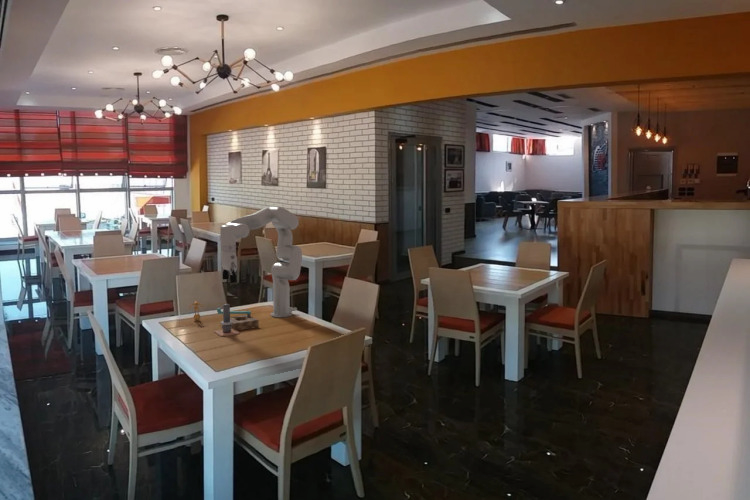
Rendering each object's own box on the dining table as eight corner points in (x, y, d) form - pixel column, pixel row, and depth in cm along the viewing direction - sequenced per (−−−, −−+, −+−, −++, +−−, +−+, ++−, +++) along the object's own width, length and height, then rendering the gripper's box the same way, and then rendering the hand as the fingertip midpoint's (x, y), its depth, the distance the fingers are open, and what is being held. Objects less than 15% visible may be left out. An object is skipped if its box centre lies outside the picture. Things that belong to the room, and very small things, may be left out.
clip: (251, 313, 321) (251, 308, 320) (250, 314, 318) (250, 309, 318) (217, 312, 320) (217, 308, 320) (216, 313, 317) (216, 309, 317)
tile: (232, 329, 307) (231, 328, 307) (239, 333, 299) (239, 332, 299) (213, 332, 301) (213, 331, 301) (221, 336, 293) (221, 335, 293)
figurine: (205, 319, 327) (204, 298, 326) (204, 322, 322) (203, 301, 320) (189, 320, 326) (189, 299, 324) (188, 322, 320) (188, 301, 318)
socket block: (247, 321, 324) (247, 312, 323) (258, 327, 313) (258, 317, 312) (223, 325, 316) (223, 315, 315) (234, 330, 304) (234, 320, 304)
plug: (230, 329, 304) (229, 302, 303) (234, 332, 299) (234, 304, 298) (219, 331, 301) (218, 304, 299) (223, 333, 296) (222, 306, 294)
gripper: (242, 249, 295) (243, 282, 297) (228, 246, 308) (229, 277, 311) (228, 251, 290) (229, 284, 292) (215, 247, 304) (216, 278, 306)
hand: (229, 280), depth 302 cm, fingers open, 9 cm apart
